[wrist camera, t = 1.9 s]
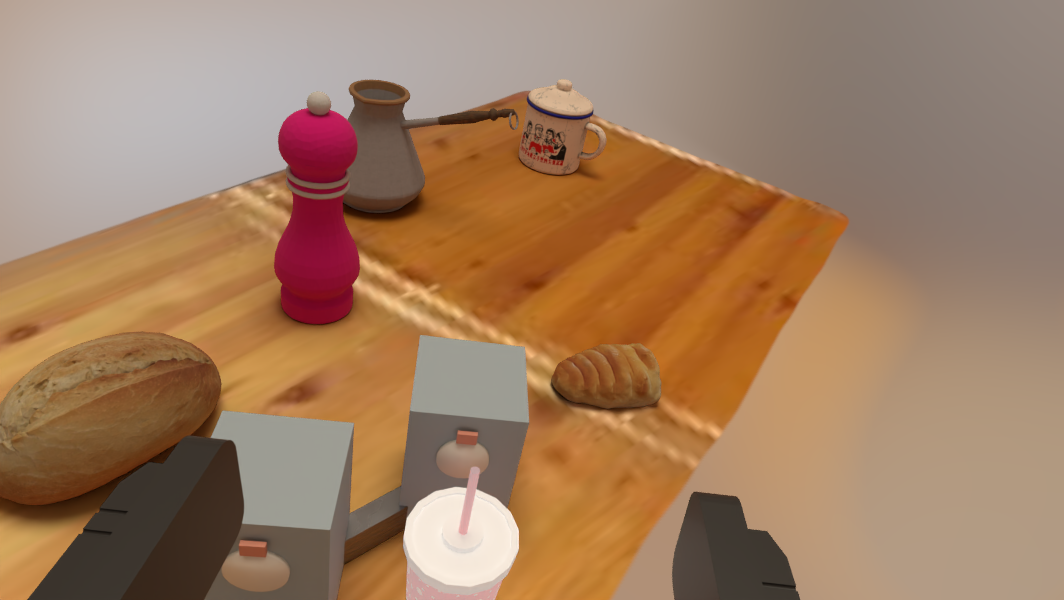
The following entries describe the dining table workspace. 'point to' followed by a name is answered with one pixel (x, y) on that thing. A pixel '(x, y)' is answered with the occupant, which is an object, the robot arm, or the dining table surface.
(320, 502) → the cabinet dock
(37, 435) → the bread roll
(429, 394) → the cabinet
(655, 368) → the pastry
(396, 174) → the coffee pot
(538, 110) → the teacup with lid
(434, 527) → the beverage cup
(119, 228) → the dining table surface
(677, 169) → the dining table surface
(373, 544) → the track rail
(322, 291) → the pepper mill
